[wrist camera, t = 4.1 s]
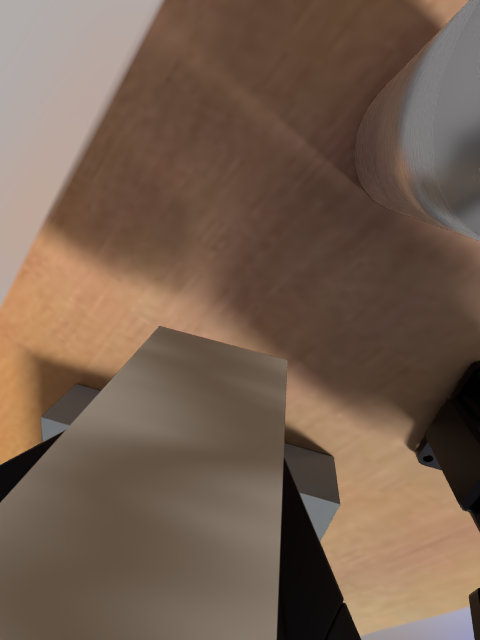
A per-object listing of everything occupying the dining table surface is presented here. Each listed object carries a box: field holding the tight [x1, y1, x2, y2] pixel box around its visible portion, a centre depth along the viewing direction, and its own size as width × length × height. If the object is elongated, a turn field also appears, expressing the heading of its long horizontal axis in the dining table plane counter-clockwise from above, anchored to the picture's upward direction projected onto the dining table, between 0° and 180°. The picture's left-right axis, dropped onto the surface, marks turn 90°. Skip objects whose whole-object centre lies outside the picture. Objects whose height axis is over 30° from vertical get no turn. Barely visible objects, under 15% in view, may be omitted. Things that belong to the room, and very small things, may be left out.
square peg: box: [0, 326, 287, 640], centre depth 7 cm, size 4×4×8 cm
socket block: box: [41, 384, 340, 541], centre depth 21 cm, size 16×14×3 cm
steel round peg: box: [354, 0, 480, 241], centre depth 8 cm, size 5×5×8 cm
